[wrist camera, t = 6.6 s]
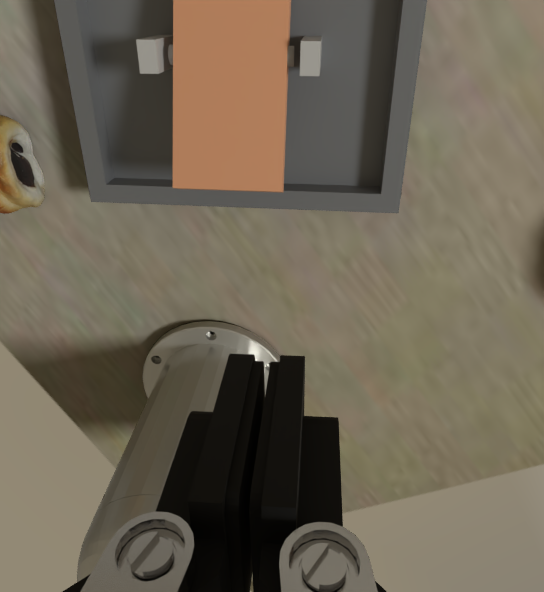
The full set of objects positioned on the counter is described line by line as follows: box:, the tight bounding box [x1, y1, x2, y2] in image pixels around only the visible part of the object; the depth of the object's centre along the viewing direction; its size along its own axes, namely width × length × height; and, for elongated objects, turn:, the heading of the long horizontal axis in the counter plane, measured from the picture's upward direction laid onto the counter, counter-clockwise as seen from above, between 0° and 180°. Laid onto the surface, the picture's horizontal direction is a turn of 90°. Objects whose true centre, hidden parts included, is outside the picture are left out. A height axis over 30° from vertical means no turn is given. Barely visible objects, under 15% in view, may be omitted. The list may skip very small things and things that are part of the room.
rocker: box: [168, 0, 294, 193], centre depth 27 cm, size 14×7×2 cm, turn 0°
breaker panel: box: [54, 0, 427, 213], centre depth 28 cm, size 18×20×6 cm
